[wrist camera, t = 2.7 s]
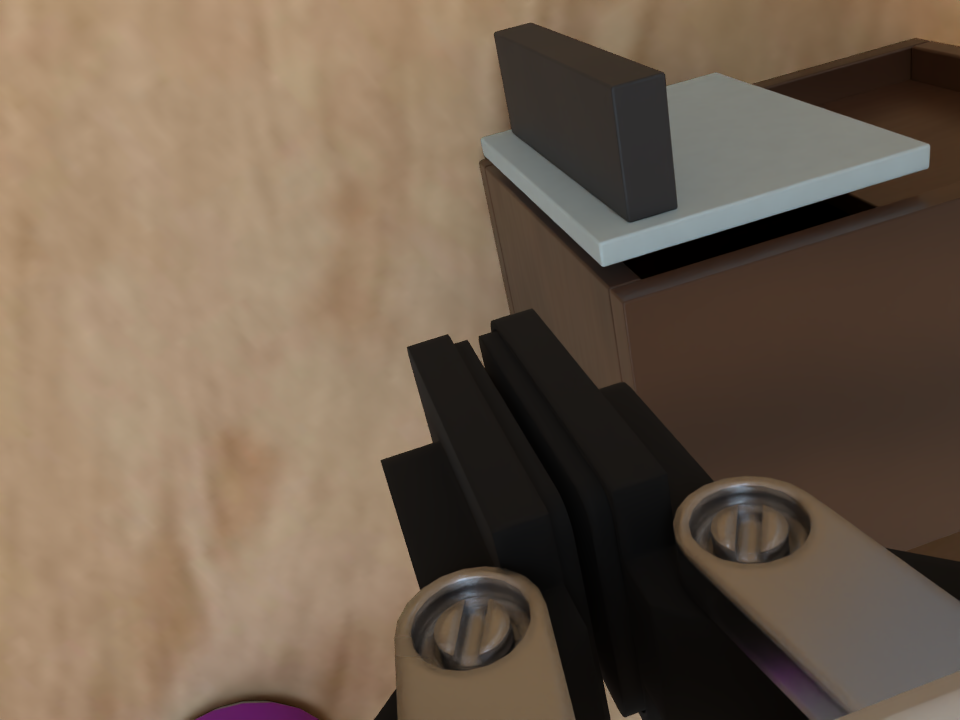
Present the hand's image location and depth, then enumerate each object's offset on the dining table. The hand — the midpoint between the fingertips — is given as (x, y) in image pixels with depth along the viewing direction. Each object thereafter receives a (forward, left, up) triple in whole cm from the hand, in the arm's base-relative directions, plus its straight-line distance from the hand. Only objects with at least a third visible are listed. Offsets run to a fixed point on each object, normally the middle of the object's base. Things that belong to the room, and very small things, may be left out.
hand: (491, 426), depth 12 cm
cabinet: (-12, +7, -18) cm, 23 cm away
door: (-8, 0, -17) cm, 19 cm away
